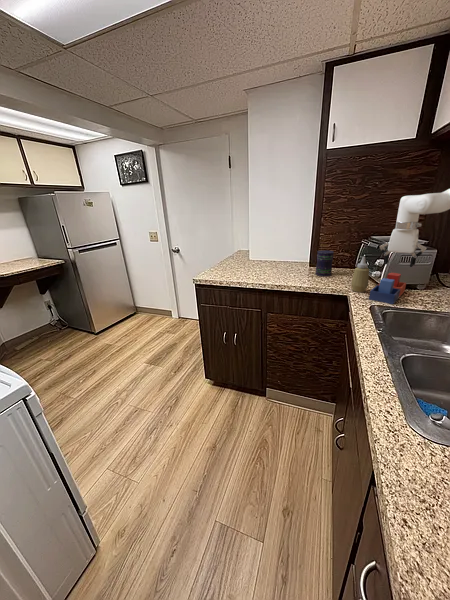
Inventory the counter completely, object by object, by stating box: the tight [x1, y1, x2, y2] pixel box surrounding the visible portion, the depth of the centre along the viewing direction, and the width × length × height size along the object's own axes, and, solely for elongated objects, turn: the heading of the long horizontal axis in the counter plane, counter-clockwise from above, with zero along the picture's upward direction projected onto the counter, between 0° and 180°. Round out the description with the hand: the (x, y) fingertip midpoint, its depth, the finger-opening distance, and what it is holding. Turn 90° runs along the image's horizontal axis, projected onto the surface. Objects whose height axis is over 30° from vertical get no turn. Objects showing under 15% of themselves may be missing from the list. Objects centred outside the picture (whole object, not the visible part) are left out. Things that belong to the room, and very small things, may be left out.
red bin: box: [377, 281, 407, 298], centre depth 127 cm, size 10×10×4 cm
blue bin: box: [368, 284, 400, 305], centre depth 119 cm, size 10×10×4 cm
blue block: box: [378, 277, 395, 294], centre depth 118 cm, size 5×5×9 cm
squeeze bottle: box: [350, 256, 370, 293], centre depth 128 cm, size 8×8×18 cm
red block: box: [386, 272, 402, 287], centre depth 126 cm, size 5×5×9 cm
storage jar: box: [315, 249, 335, 277], centre depth 160 cm, size 10×10×15 cm
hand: (398, 265), depth 113 cm, fingers open, 9 cm apart
